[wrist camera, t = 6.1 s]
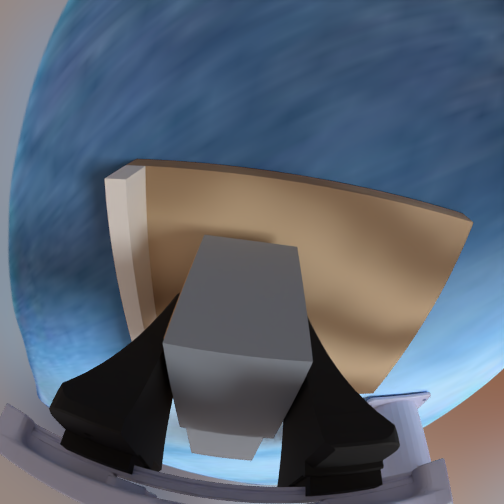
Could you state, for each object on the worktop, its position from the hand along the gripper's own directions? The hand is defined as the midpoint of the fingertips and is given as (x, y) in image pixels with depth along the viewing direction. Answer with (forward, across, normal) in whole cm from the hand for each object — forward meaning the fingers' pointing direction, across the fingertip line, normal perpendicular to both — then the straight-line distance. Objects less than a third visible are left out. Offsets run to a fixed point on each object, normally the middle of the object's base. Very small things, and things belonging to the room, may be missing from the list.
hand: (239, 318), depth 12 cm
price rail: (+3, +6, +2) cm, 7 cm away
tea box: (+2, 0, 0) cm, 2 cm away
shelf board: (+4, -3, +2) cm, 6 cm away
